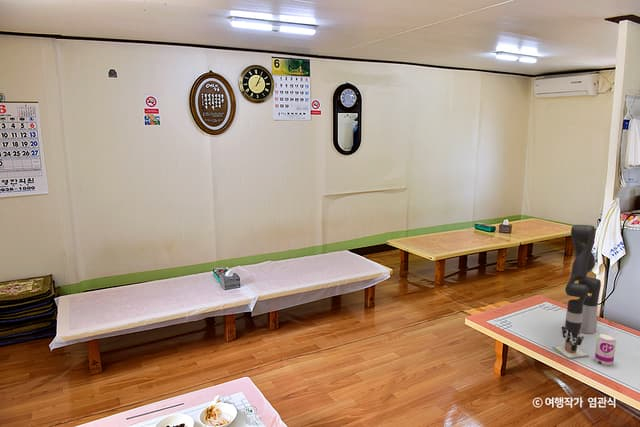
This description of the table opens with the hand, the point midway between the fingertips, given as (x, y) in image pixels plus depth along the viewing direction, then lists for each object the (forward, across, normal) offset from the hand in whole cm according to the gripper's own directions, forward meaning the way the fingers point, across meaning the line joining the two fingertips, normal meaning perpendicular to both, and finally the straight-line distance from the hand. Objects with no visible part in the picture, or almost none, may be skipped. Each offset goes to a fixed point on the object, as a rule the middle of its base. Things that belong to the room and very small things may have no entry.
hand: (570, 348), depth 242 cm
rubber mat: (+3, 0, 0) cm, 3 cm away
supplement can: (+3, -12, -10) cm, 16 cm away
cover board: (+2, 0, 0) cm, 2 cm away
